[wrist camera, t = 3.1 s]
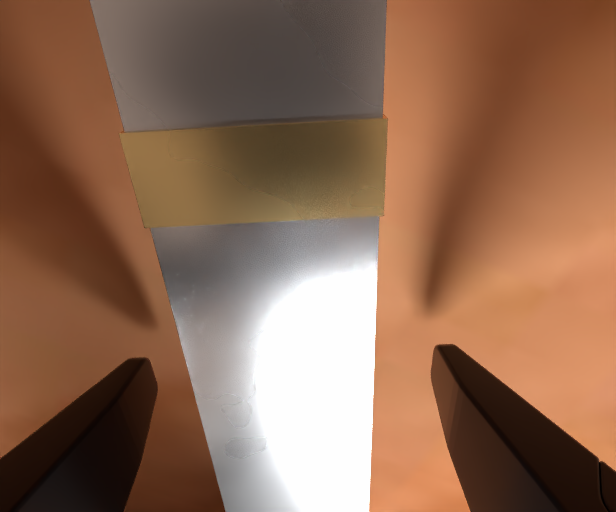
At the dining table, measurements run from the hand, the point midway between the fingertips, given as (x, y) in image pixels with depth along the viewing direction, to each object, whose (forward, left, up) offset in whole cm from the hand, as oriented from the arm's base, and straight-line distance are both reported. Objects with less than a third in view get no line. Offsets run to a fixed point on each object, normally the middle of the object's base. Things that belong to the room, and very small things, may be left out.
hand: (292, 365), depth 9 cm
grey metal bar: (0, 0, -1) cm, 1 cm away
